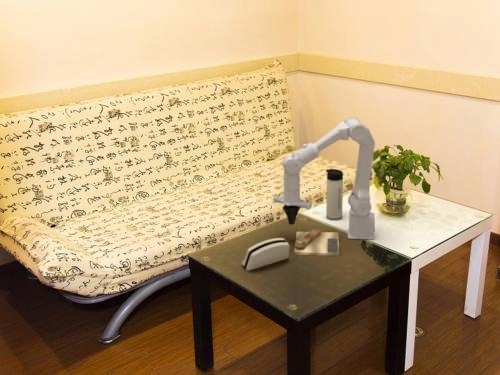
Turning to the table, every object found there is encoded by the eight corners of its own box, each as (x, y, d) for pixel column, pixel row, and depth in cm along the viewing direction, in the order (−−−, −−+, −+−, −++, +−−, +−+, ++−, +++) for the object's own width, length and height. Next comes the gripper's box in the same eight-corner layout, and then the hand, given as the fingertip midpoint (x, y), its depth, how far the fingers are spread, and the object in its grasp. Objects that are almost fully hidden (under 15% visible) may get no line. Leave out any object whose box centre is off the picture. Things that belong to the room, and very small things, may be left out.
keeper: (337, 246, 208) (337, 238, 207) (337, 252, 204) (337, 244, 203) (327, 246, 209) (327, 238, 207) (327, 252, 204) (327, 244, 203)
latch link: (302, 250, 206) (302, 245, 205) (293, 248, 208) (293, 242, 207) (321, 234, 218) (321, 228, 217) (312, 232, 220) (312, 226, 219)
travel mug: (325, 214, 238) (326, 167, 231) (342, 214, 237) (343, 167, 230) (325, 220, 232) (325, 172, 225) (342, 220, 232) (343, 172, 224)
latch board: (338, 234, 219) (338, 232, 219) (339, 255, 204) (339, 253, 203) (296, 234, 221) (296, 231, 221) (294, 254, 206) (294, 252, 205)
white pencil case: (280, 252, 208) (285, 231, 202) (288, 261, 205) (293, 240, 199) (239, 265, 200) (243, 243, 194) (246, 274, 197) (251, 253, 191)
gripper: (268, 189, 210) (269, 223, 215) (304, 195, 203) (304, 231, 207) (278, 183, 216) (278, 216, 220) (313, 189, 208) (313, 224, 213)
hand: (292, 223), depth 214 cm, fingers closed
